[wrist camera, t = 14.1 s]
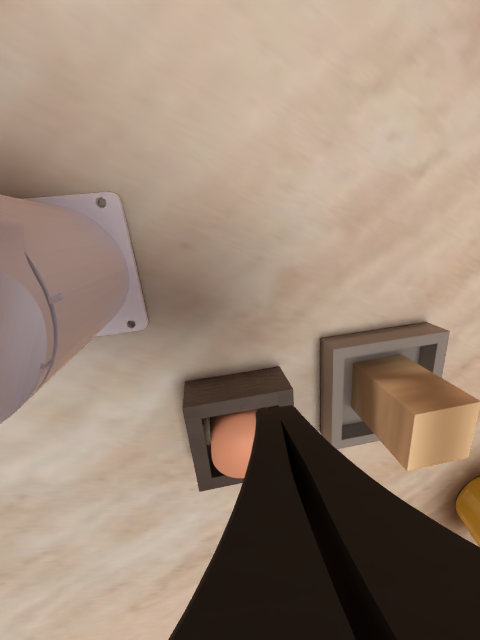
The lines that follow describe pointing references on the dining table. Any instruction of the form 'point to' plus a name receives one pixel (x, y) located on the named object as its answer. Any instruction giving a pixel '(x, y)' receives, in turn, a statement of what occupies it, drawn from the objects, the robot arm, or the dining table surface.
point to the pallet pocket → (344, 350)
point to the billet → (414, 411)
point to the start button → (232, 441)
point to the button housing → (227, 412)
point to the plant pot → (470, 507)
